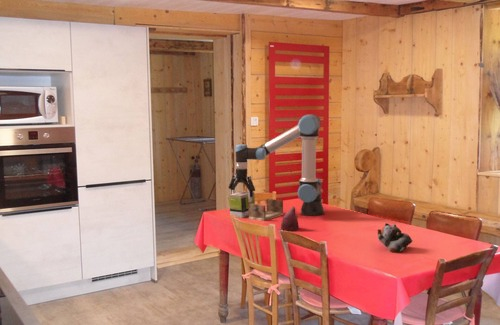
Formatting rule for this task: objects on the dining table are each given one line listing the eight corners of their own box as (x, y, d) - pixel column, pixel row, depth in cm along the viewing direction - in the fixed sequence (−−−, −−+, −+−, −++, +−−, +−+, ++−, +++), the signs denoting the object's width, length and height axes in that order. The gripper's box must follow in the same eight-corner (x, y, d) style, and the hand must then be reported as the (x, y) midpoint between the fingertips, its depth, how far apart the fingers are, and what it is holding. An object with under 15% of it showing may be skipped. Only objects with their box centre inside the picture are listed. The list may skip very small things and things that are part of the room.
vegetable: (299, 233, 318) (306, 208, 317) (293, 235, 309) (300, 209, 307) (283, 227, 322) (290, 203, 321) (277, 229, 313) (284, 204, 312)
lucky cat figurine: (397, 254, 260) (382, 228, 261) (382, 258, 270) (368, 233, 272) (417, 240, 267) (403, 215, 268) (402, 245, 277) (388, 220, 279)
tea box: (243, 212, 365) (242, 190, 364) (255, 213, 360) (255, 191, 358) (229, 216, 353) (228, 194, 352) (242, 218, 347) (241, 195, 346)
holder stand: (284, 214, 356) (283, 200, 354) (263, 221, 337) (262, 206, 336) (269, 212, 363) (268, 198, 362) (247, 219, 344) (247, 204, 343)
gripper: (223, 167, 357) (223, 199, 360) (253, 170, 342) (253, 203, 345) (230, 166, 363) (230, 197, 366) (260, 169, 348) (260, 201, 351)
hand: (241, 200), depth 355 cm, fingers open, 13 cm apart
